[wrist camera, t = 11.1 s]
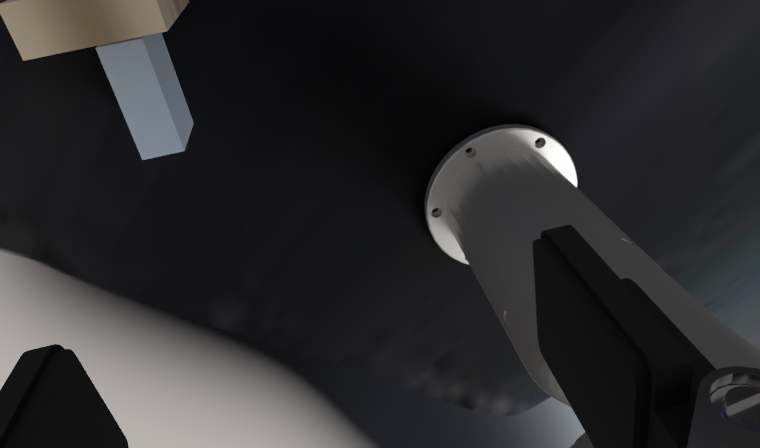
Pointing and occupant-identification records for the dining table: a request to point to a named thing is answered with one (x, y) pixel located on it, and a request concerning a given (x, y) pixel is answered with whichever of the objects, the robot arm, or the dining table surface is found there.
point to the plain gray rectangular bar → (148, 94)
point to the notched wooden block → (83, 22)
